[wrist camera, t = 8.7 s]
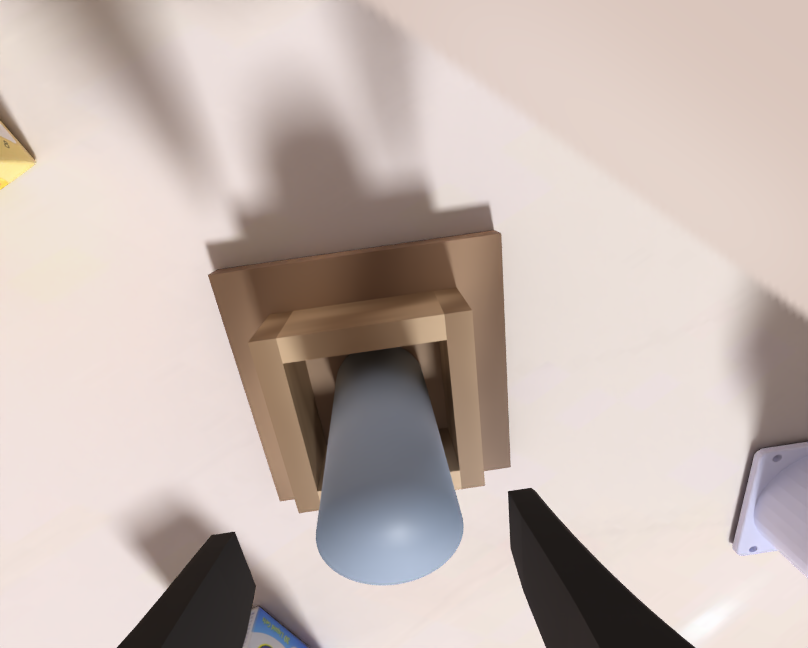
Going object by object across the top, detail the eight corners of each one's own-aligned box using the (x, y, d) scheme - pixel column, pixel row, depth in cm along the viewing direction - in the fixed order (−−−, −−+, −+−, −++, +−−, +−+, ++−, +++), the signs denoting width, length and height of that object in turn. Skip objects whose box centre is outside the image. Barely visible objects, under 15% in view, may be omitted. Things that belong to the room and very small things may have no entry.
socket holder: (494, 230, 17) (526, 246, 13) (504, 454, 21) (531, 513, 18) (217, 269, 17) (171, 296, 13) (284, 486, 21) (264, 553, 17)
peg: (420, 338, 17) (461, 468, 10) (426, 413, 19) (465, 574, 12) (329, 348, 17) (303, 489, 10) (342, 424, 19) (328, 594, 11)
